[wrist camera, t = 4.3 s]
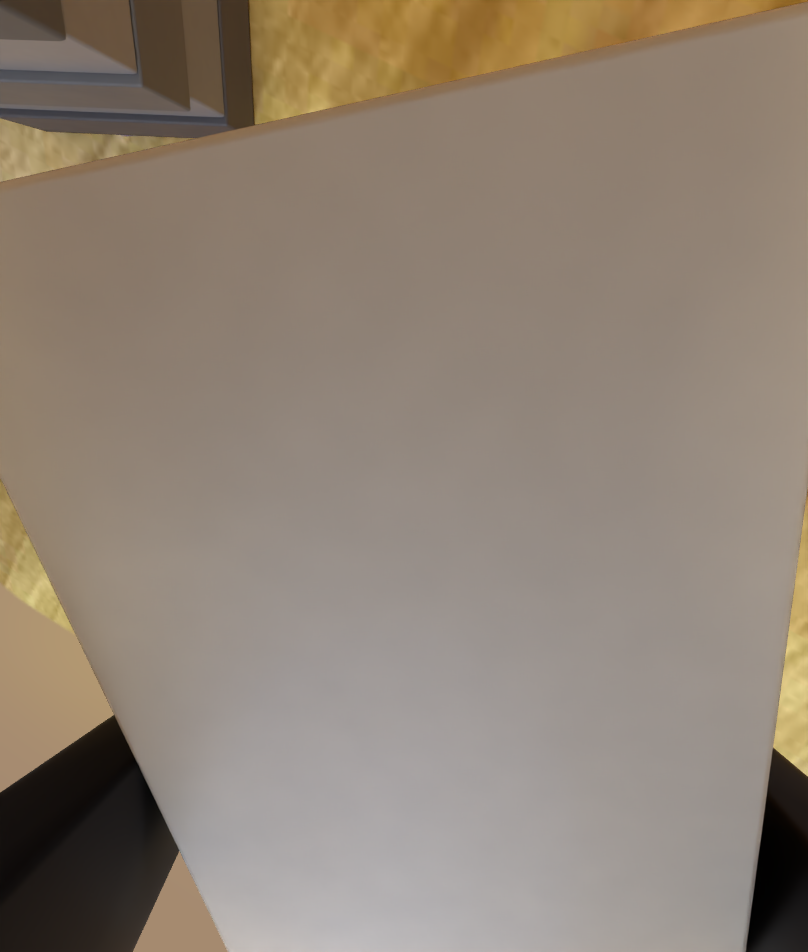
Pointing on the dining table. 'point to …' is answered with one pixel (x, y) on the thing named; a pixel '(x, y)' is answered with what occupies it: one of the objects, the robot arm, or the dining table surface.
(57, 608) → the dining table surface
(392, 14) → the dining table surface
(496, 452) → the cream block
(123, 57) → the grey stack
